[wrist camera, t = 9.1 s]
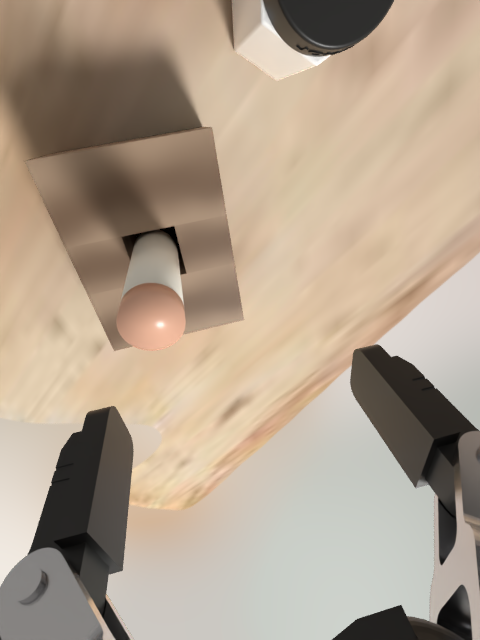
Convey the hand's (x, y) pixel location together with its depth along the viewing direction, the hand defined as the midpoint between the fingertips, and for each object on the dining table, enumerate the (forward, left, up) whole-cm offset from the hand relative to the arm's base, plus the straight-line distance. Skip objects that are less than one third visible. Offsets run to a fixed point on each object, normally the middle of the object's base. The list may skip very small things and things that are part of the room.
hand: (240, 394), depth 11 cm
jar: (-14, +11, -28) cm, 33 cm away
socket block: (+2, -4, -28) cm, 28 cm away
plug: (+2, -4, -23) cm, 23 cm away
